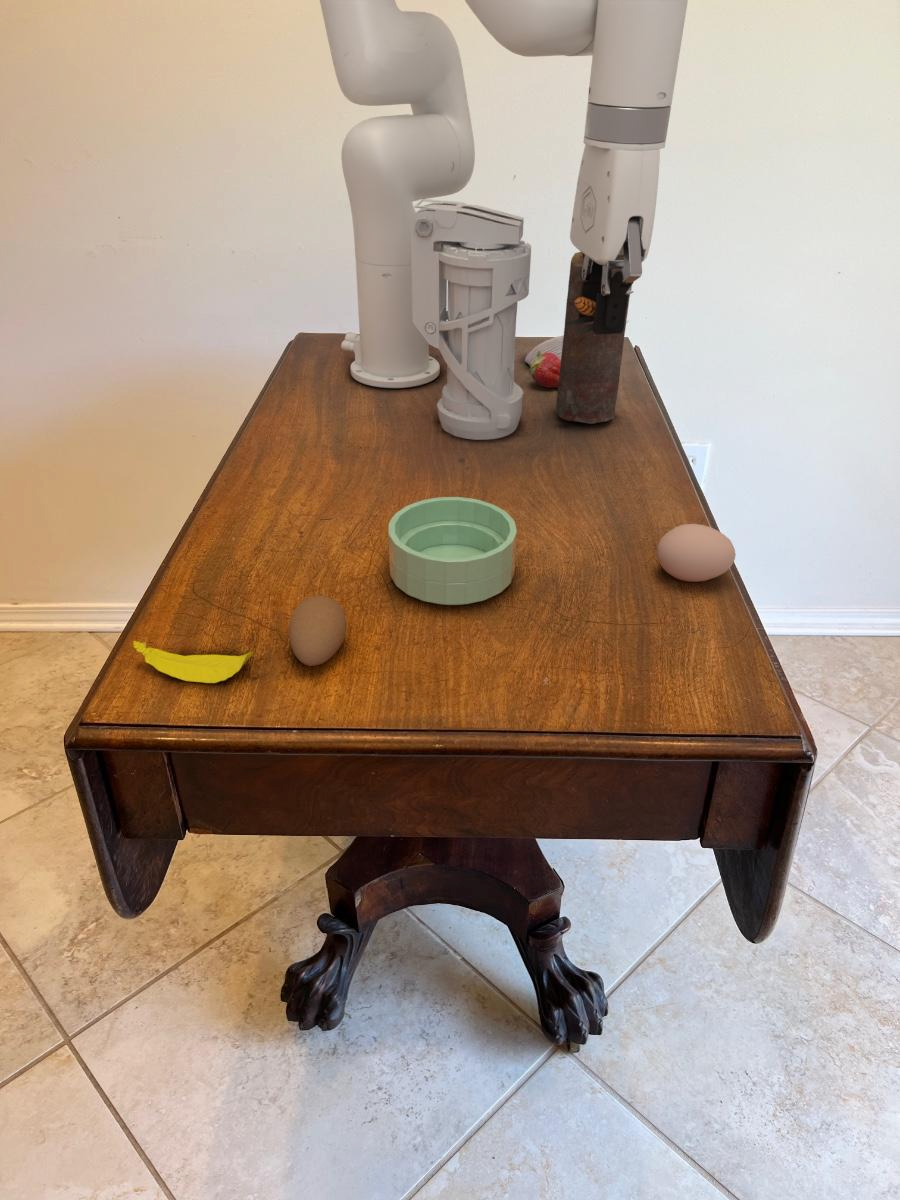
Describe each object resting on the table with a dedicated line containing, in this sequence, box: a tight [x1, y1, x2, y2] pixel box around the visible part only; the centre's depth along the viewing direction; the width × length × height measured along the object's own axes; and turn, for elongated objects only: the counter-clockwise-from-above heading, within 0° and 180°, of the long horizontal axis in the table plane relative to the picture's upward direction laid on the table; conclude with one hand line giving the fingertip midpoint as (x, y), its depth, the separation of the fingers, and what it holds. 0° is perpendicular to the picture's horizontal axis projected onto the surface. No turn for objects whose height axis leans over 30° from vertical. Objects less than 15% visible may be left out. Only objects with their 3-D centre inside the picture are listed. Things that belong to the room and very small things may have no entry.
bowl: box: [387, 496, 518, 606], centre depth 75 cm, size 11×11×5 cm
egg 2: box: [656, 523, 736, 583], centre depth 74 cm, size 5×5×7 cm
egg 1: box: [288, 594, 348, 667], centre depth 65 cm, size 4×4×6 cm
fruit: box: [528, 350, 561, 389], centre depth 113 cm, size 4×6×5 cm
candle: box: [555, 251, 631, 425], centre depth 99 cm, size 8×7×20 cm
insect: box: [564, 280, 634, 334], centre depth 86 cm, size 4×6×5 cm, turn 106°
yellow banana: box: [132, 640, 255, 684], centre depth 64 cm, size 10×2×3 cm
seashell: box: [524, 335, 564, 368], centre depth 121 cm, size 10×6×10 cm
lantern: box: [411, 198, 532, 441], centre depth 97 cm, size 13×10×25 cm
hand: (600, 324), depth 88 cm, fingers closed on insect, 3 cm apart
